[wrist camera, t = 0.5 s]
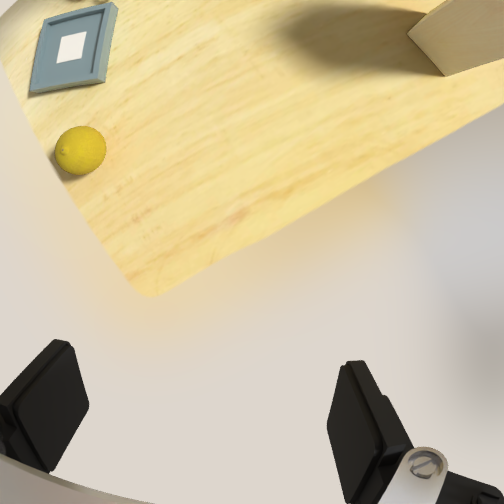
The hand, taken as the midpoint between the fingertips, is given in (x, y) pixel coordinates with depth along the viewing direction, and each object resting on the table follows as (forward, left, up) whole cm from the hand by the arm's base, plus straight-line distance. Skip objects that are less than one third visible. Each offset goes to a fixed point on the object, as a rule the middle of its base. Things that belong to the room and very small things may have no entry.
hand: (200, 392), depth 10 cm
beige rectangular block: (-28, +25, -29) cm, 47 cm away
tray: (-23, -23, -28) cm, 43 cm away
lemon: (-9, -18, -29) cm, 35 cm away
